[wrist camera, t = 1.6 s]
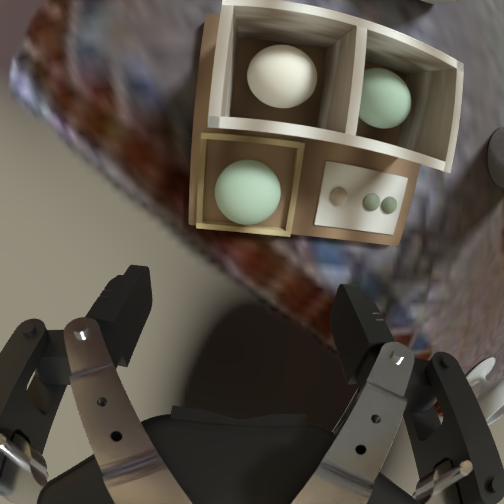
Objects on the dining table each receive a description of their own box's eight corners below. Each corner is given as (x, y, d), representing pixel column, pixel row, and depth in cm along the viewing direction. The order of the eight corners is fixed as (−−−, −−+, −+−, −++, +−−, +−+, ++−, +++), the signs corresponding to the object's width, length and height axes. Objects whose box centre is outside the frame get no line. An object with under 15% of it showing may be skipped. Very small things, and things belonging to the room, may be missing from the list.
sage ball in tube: (396, 81, 22) (426, 77, 17) (389, 132, 25) (418, 138, 20) (344, 65, 22) (366, 55, 17) (337, 119, 25) (359, 121, 19)
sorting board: (426, 65, 22) (484, 59, 13) (393, 241, 33) (434, 286, 23) (208, 18, 21) (187, -23, 12) (191, 219, 31) (166, 266, 22)
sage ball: (281, 159, 27) (288, 170, 22) (273, 214, 30) (278, 238, 24) (220, 153, 27) (212, 162, 21) (216, 209, 29) (208, 232, 24)
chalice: (455, 378, 50) (477, 424, 36) (497, 345, 45) (523, 386, 32) (460, 394, 54) (478, 434, 41) (496, 366, 50) (518, 402, 37)
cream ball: (312, 58, 22) (328, 44, 17) (306, 113, 25) (320, 112, 19) (250, 49, 22) (250, 32, 16) (244, 105, 24) (242, 102, 19)
